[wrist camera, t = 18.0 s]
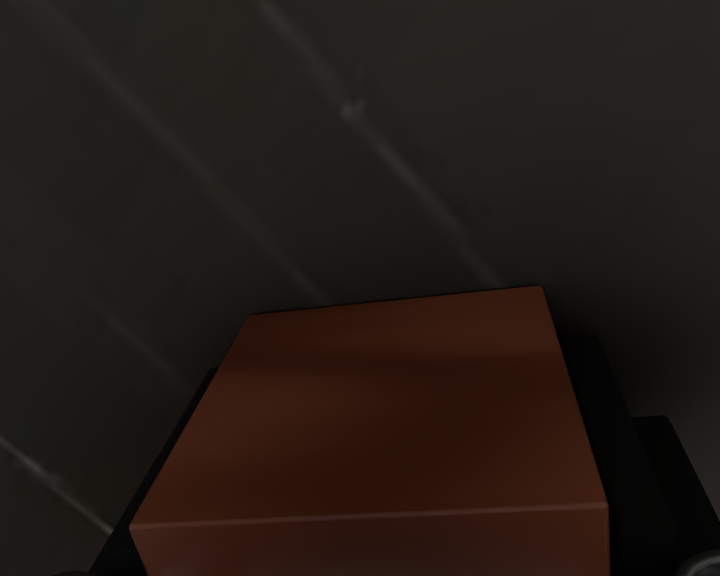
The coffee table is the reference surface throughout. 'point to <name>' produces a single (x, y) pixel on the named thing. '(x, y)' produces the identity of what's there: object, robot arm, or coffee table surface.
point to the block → (384, 449)
